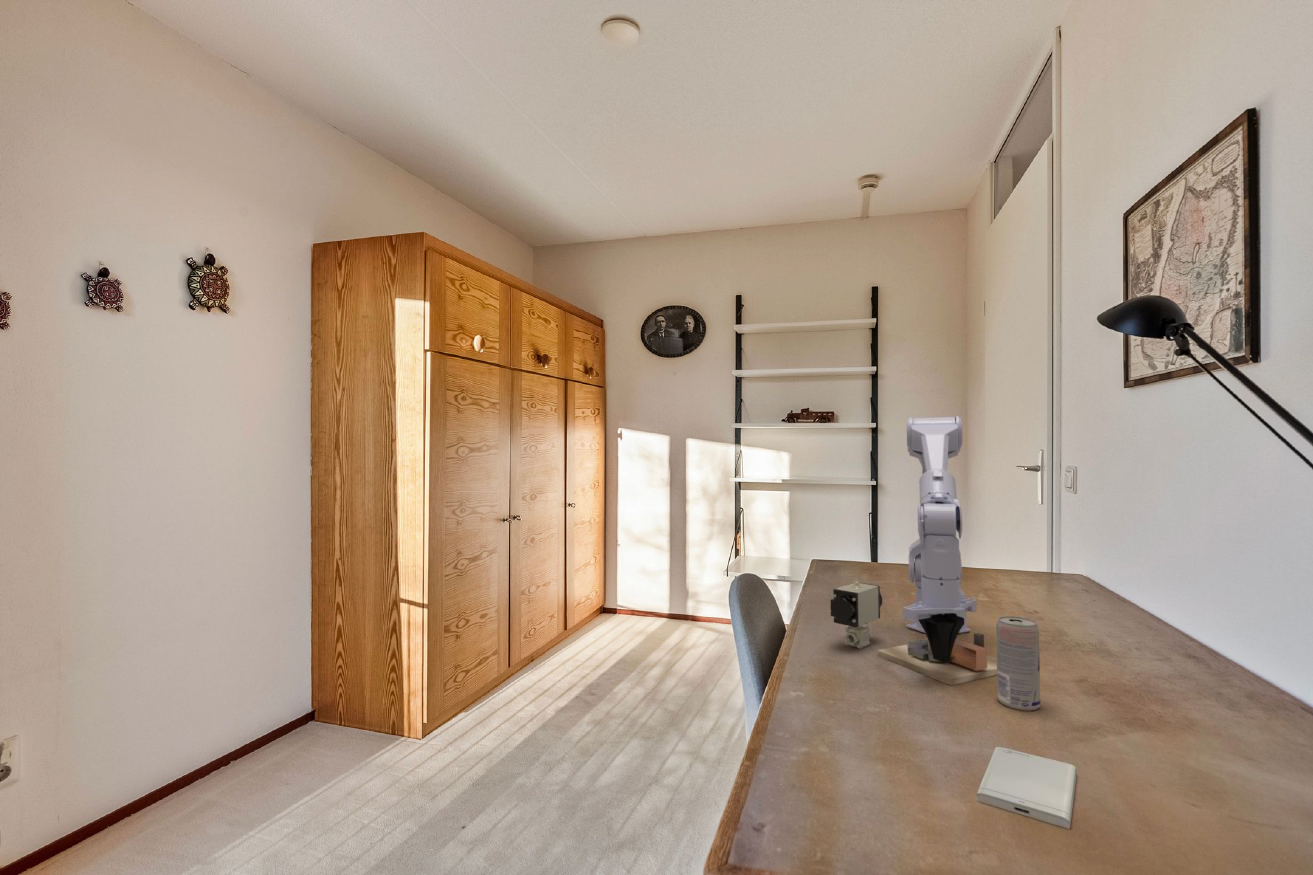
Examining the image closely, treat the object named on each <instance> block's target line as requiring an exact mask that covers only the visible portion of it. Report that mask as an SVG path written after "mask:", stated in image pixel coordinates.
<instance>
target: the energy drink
mask: <svg viewBox="0 0 1313 875" xmlns="http://www.w3.org/2000/svg"><path fill="white" fill-rule="evenodd" d="M995 627H996V658H997V675H996V676H997V678H996V681H997V682H996V683H997V699H998V701H999V702H1000V703H1001V704H1002V705H1003V706H1005V707H1008V708H1009V709H1013V710H1014V709H1015V710H1019V711H1023V712H1024V711H1025V712H1026V711H1028V712H1031V711H1037V710H1038V709H1039V708H1040V707H1041V669H1040V666H1041V664H1040V661H1041V660H1040V657H1041V656H1040V628H1039V626H1038V622H1037V621H1036V620H1033V619H1031V618H1026V617H1021V616H1015V615H1014V616H1013V615H1006V616H1003V615H1002V616H999V617H998V618H997V622H996V626H995Z"/></svg>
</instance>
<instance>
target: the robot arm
mask: <svg viewBox="0 0 1313 875" xmlns="http://www.w3.org/2000/svg"><path fill="white" fill-rule="evenodd" d="M963 434H964V433H963V421H962V418H961V417H960V416H958V415H956V416H943V417H942V416H941V417H937V416H936V417H912V416H910V417H908V418H907V420H906V447H907V452H908V453H909V454H908V455H909V456H910V457H913V458H915V459H918V461H919V464H920V466H921V470H922V474H921V476H920V478H919V505H918V507H917V532H918V536H919V539H917V540H915V541H914V542H912V543H911V544H910V547H909V548H908V552H909V554H908V580H909V581H910V583H912V584H914V585H915V587H914V588H915V603H914V604H910V605H908V606H903V608H902V610H903V612H902V615H903V616H902V618H903V620H905V621H908V622H912V623H909V624H908V623H907V624H906V628H908V629H912V630H915V631H918V632H921V633H925V635H926V638H927V640H928V641H929V644H930V647H931V651H932V654H933V658H934V659H935V660H938V661H941V662H949V660H950V657H951V653H952V649H953V646H954V642H955V641H957V640H956V639H957V637H958V635H959V634H963V633H967V632H971V628H970V627H967V612H971V613H976V612H978V611H977V599H974V598H969V597H966V595H965V593H964V591H963V589H962V588H961V585H962V581H963V568H962V558H961V556H962V555H961V550H960V540H961V538H962V533H963V513H962V508H961V504H960V500H959V499H957V498H958V496H957V486H956V478H955V477H954V475H953V473H951V472H949V471H948V465H949V464H948V463H949V462H948V461H949V459H952V458H955V457H957V456H959V453H960V452H961V448H962V446H963ZM957 533H958V538H957Z"/></svg>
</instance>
